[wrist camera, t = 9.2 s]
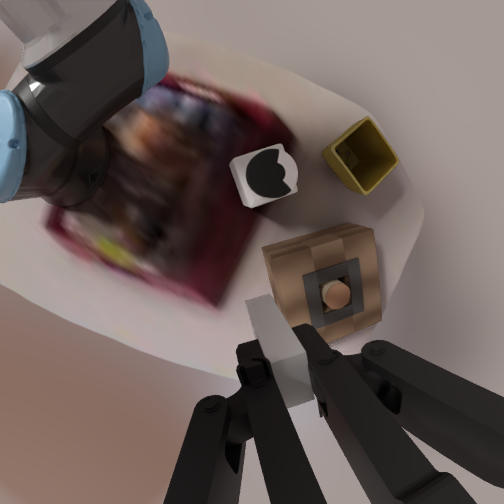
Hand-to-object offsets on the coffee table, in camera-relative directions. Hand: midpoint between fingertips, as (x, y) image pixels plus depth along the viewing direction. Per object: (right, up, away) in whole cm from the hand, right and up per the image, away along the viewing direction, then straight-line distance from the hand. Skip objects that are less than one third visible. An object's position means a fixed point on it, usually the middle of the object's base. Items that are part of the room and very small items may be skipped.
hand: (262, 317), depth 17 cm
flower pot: (+14, +20, +29) cm, 38 cm away
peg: (+11, -1, +31) cm, 33 cm away
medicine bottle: (0, +16, +27) cm, 31 cm away
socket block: (+11, -1, +32) cm, 34 cm away
